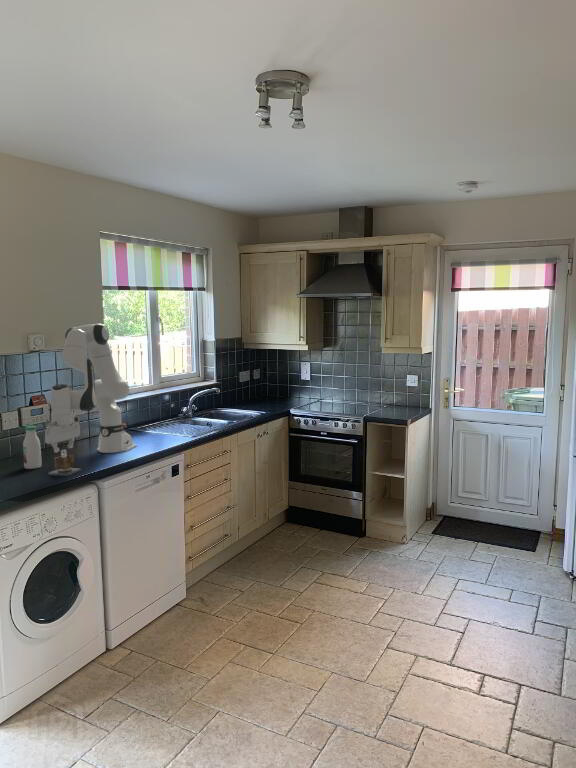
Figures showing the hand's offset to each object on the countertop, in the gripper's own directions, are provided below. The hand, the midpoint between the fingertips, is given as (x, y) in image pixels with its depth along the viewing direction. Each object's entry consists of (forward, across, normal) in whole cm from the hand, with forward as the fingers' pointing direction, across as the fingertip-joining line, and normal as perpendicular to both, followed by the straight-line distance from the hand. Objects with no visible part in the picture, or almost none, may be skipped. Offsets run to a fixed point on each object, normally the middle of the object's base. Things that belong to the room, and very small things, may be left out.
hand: (63, 450), depth 262 cm
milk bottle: (+11, +6, +23) cm, 26 cm away
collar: (+8, 0, 0) cm, 8 cm away
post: (+11, 0, 0) cm, 11 cm away
